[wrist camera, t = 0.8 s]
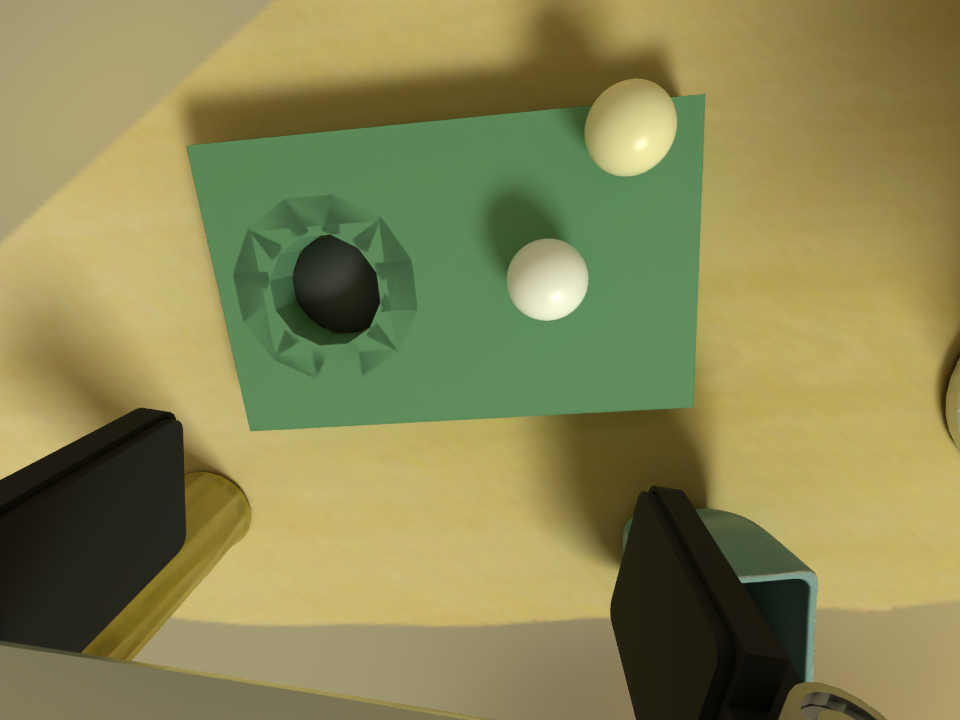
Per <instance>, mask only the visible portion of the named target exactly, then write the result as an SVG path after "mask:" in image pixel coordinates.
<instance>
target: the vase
mask: <svg viewBox="0 0 960 720" xmlns="http://www.w3.org/2000/svg"><path fill="white" fill-rule="evenodd" d="M184 479H185V509H186V539H185V542H184V545H183V547H182V549H181V550H180V552H179V553H178V554H177V555H176V556H175V557H174V558H173V559H172V560H171V561H170V562H169V563H168V564H167V565H166V566H165V568H164V569H163V570H162V571H161V572H160V573H159V574H158V575H157V576H156V577H155V578H154V579H153V580H152V581H151V582H150V583H149V584H148V585H147V586H146V587H145V588H144V589H143V590H142V591H141V592H140V593H139V594H138V595H137V596H136V597H135V598H134V599H133V600H132V601H131V602H130V603H129V604H128V605H127V606H126V607H125V608H124V610H123V611H122V612H121V613H120V614H119V615H118V616H117V617H116V618H115V619H114V620H113V621H112V622H111V623H110V624H109V625H108V626H107V627H106V628H105V629H104V630H103V631H102V632H101V633H100V634H99V635H98V636H97V637H96V638H95V639H94V640H93V641H92V642H91V643H90V644H89V645H88V646H87V647H86V648H85V649H84V650H83V651H82V653H83V654H89V655H96V656H103V657H109V658H116V659H122V660H129V661H132V659H133V658H134V657H135V656H136V655H137V654H138V653H139V652H140V651H141V649H142V648H143V647H144V646H145V645H146V644H147V643H148V641H149V640H150V639H151V638H152V637H153V636H154V635H155V634H156V632H157V631H158V630H159V629H160V628H161V627H162V626H163V625H164V623H165V622H166V621H167V620H168V619H169V618H170V617H171V616H172V614H173V613H174V612H175V611H176V610H177V609H178V608H179V606H180V605H181V604H182V603H183V602H184V601H185V599H186V598H187V597H188V596H189V595H190V594H191V592H192V591H193V590H194V589H195V588H196V587H197V586H198V585H199V583H200V582H201V581H202V580H203V579H204V578H205V577H206V576H207V575H208V574H209V573H210V572H211V570H212V569H213V568H214V567H215V566H216V565H217V563H218V562H219V561H220V559H221V558H222V557H223V556H224V555H225V553H226V552H227V551H228V550H229V549H230V548H231V547H232V546H233V545H235V544H236V543H238V542H239V541H240V540H241V539H242V538H243V537H244V536H245V535H246V533H247V531H248V529H249V526H250V522H251V511H250V507H249V504H248V502H247V499H246V497H245V496H244V494H243V493H242V491H241V490H240V489H239V488H238V487H237V486H236V485H234V484H233V483H232V482H230V481H229V480H227V479H226V478H224V477H222V476H220V475H217V474H213V473H209V472H193V473H189V474H186V475H184Z"/></svg>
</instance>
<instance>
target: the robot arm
mask: <svg viewBox="0 0 960 720" xmlns="http://www.w3.org/2000/svg"><path fill="white" fill-rule="evenodd" d="M946 418H947V423H948V428H949V432H950V434H951V436H952V438H953V440H954V442H955V444H956V446H957V447H958V449H959V450H960V358H959V360H958V362H957V364H956V367H955V369H954V371H953V373H952V375H951V378H950V382H949V386H948V390H947V395H946ZM185 539H186V509H185V479H184V448H183V427H182V424H181V422H180V421H178V420H176V418H175V416H174V414H172V413H171V412H166V411H159V410H153V409H146V408H139V409H136V410H134V411H132V412H130V413H128V414H126V415H124V416H122V417H120V418H118V419H117V420H115V421H113V422H111V423H109V424H107V425H105V426H103V427H101V428H99V429H97V430H95V431H94V432H92V433H90V434H88V435H86V436H84V437H82V438H80V439H78V440H76V441H74V442H72V443H70V444H69V445H67V446H65V447H63V448H61V449H59V450H57V451H55V452H53V453H51V454H49V455H47V456H46V457H44V458H42V459H40V460H38V461H36V462H34V463H32V464H30V465H28V466H26V467H24V468H23V469H21V470H19V471H17V472H15V473H13V474H11V475H9V476H7V477H5V478H3V479H1V480H0V720H495V719H489V718H483V717H477V716H471V715H465V714H459V713H453V712H447V711H441V710H435V709H429V708H423V707H417V706H410V705H405V704H399V703H392V702H387V701H381V700H375V699H369V698H362V697H356V696H350V695H344V694H337V693H331V692H325V691H319V690H313V689H306V688H300V687H294V686H288V685H282V684H275V683H269V682H263V681H256V680H250V679H244V678H237V677H231V676H225V675H218V674H212V673H205V672H200V671H193V670H187V669H181V668H174V667H168V666H161V665H155V664H148V663H141V662H135V661H129V660H122V659H116V658H109V657H103V656H96V655H89V654H83V653H82V651H83V650H84V649H85V648H86V647H87V646H88V645H89V644H90V643H91V642H92V641H93V640H94V639H95V638H96V637H97V636H98V635H99V634H100V633H101V632H102V631H103V630H104V629H105V628H106V627H107V626H108V625H109V624H110V623H111V622H112V621H113V620H114V619H115V618H116V617H117V616H118V615H119V614H120V613H121V612H122V611H123V610H124V608H125V607H126V606H127V605H128V604H129V603H130V602H131V601H132V600H133V599H134V598H135V597H136V596H137V595H138V594H139V593H140V592H141V591H142V590H143V589H144V588H145V587H146V586H147V585H148V584H149V583H150V582H151V581H152V580H153V579H154V578H155V577H156V576H157V575H158V574H159V573H160V572H161V571H162V570H163V569H164V568H165V566H166V565H167V564H168V563H169V562H170V561H171V560H172V559H173V558H174V557H175V556H176V555H177V554H178V553H179V552H180V550H181V549H182V547H183V545H184V542H185ZM610 614H611V622H612V626H613V630H614V633H615V638H616V641H617V646H618V650H619V654H620V657H621V661H622V665H623V669H624V673H625V677H626V681H627V685H628V689H629V693H630V697H631V701H632V705H633V709H634V713H635V717H636V720H887V719H886V718H885V717H884V716H883V715H881V713H879V712H878V711H876V710H875V709H874V708H872V707H871V706H869V705H868V704H866V703H865V702H864V701H862V700H861V699H859V698H857V697H855V696H853V695H851V694H849V693H847V692H845V691H843V690H841V689H839V688H836V687H833V686H830V685H827V684H824V683H817V682H804V683H803V681H802V680H801V678H800V676H799V675H798V673H797V672H796V670H795V668H794V667H793V665H792V664H791V662H790V658H789V657H788V655H787V654H786V652H785V651H784V649H783V647H782V646H781V644H780V643H779V641H778V640H777V638H776V636H775V635H774V633H773V632H772V630H771V628H770V627H769V625H768V624H767V622H766V621H765V619H764V617H763V616H762V614H761V613H760V611H759V610H758V608H757V606H756V605H755V603H754V602H753V600H752V598H751V597H750V595H749V594H748V592H747V591H746V589H745V587H744V586H743V584H742V583H741V581H740V580H739V578H738V576H737V575H736V573H735V572H734V570H733V568H732V567H731V565H730V564H729V562H728V561H727V559H726V557H725V556H724V554H723V553H722V551H721V550H720V548H719V546H718V545H717V543H716V542H715V540H714V539H713V537H712V535H711V534H710V532H709V531H708V529H707V527H706V526H705V524H704V523H703V521H702V520H701V518H700V516H699V515H698V513H697V512H696V510H695V509H694V507H693V505H692V504H691V502H690V501H689V499H688V497H687V496H686V494H685V493H684V492H683V491H682V490H677V489H671V488H664V487H657V486H652V487H651V488H650V489H649V491H648V492H643V491H642V492H641V493H640V495H639V497H638V500H637V504H636V508H635V512H634V516H633V520H632V523H631V527H630V531H629V535H628V539H627V543H626V546H625V550H624V554H623V558H622V562H621V565H620V569H619V573H618V577H617V581H616V585H615V588H614V592H613V596H612V600H611V608H610Z"/></svg>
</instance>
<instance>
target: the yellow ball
mask: <svg viewBox="0 0 960 720" xmlns="http://www.w3.org/2000/svg"><path fill="white" fill-rule="evenodd" d="M676 130H677V115H676V110H675V106H674V104H673V101H672V99H671V98H670V96H669V95H668V94H667V92H666V91H665V90H664V89H663V88H661V87H660V86H659V85H657V84H656V83H654V82H651V81H648V80H645V79H629V80H624V81H621V82H618V83H616V84H614V85H612V86H611V87H609V88H608V89H607V90H605V91H604V92H603V93H602V94H601V95H600V96H599V97H598V98H597V99H596V101H595V102H594V104H593V105H592V107H591V109H590V111H589V114H588V116H587V120H586V124H585V134H584V135H585V143H586V147H587V150H588V153H589V155H590V157H591V158H592V160H593V161H594V162H595V163H596V164H597V166H599V167H600V168H601V169H602V170H604V171H606V172H607V173H610V174H612V175H616V176H635V175H638V174H641V173H644V172H646V171H648V170H649V169H651V168H653V167H654V166H655V165H657V164H658V163H659V162H660V161H661V160H662V159H663V158H664V157H665V155H666V154H667V152H668V151H669V149H670V148H671V145H672V143H673V141H674V138H675V135H676Z"/></svg>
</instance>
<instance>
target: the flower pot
mask: <svg viewBox="0 0 960 720" xmlns="http://www.w3.org/2000/svg"><path fill="white" fill-rule="evenodd" d="M695 510H696V512H697V513H698V515H699V516H700V518H701V520H702V521H703V523H704V524H705V526H706V527H707V529H708V531H709V532H710V534H711V535H712V537H713V539H714V540H715V542H716V543H717V545H718V546H719V548H720V550H721V551H722V553H723V554H724V556H725V557H726V559H727V561H728V562H729V564H730V565H731V567H732V568H733V570H734V572H735V573H736V575H737V576H738V578H739V580H740V581H741V583H742V584H743V586H744V587H745V589H746V591H747V592H748V594H749V595H750V597H751V598H752V600H753V602H754V603H755V605H756V606H757V608H758V610H759V611H760V613H761V614H762V616H763V617H764V619H765V621H766V622H767V624H768V625H769V627H770V628H771V630H772V632H773V633H774V635H775V636H776V638H777V640H778V641H779V643H780V644H781V646H782V647H783V649H784V651H785V652H786V654H787V655H788V657H789V658H790V662H791V664H792V665H793V667H794V668H795V670H796V672H797V673H798V675H799V676H800V678H801V680H802V681H803V683H804V682H813V663H814V658H813V657H814V633H815V618H816V602H817V592H818V580H817V575H816V573H815V572H813V571H812V570H811V569H810V568H809V567H808V566H806V565H805V564H804V563H803V562H802V561H801V560H800V559H799V558H797V557H796V556H795V555H794V554H793V553H791V552H790V551H789V550H788V549H787V548H786V547H785V546H783V545H782V544H781V543H780V542H779V541H777V540H776V539H775V538H774V537H773V536H772V535H770V534H769V533H768V532H767V531H765V530H764V529H763V528H761V527H760V526H759V525H757V524H756V523H754V522H752V521H750V520H749V519H747V518H744V517H742V516H740V515H737V514H734V513H730V512H726V511H721V510H715V509H706V508H700V509H695ZM632 520H633V517H632V518H631V519H629V521H628V522H627V523H626V525H625V527H624V531H623V550H625V546H626V543H627V539H628V535H629V531H630V527H631V523H632Z"/></svg>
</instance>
